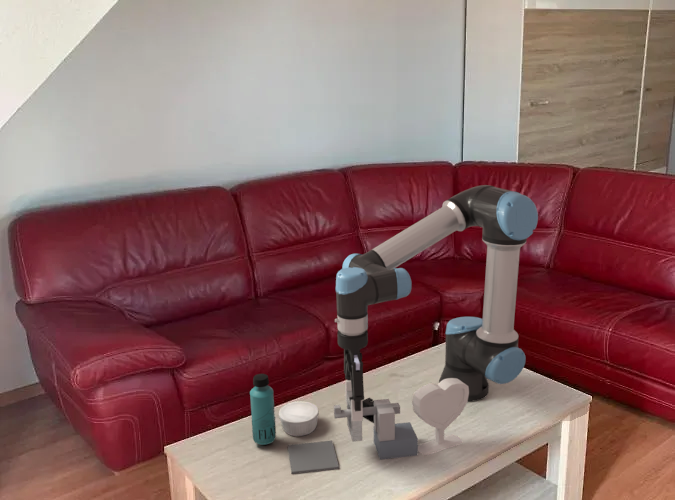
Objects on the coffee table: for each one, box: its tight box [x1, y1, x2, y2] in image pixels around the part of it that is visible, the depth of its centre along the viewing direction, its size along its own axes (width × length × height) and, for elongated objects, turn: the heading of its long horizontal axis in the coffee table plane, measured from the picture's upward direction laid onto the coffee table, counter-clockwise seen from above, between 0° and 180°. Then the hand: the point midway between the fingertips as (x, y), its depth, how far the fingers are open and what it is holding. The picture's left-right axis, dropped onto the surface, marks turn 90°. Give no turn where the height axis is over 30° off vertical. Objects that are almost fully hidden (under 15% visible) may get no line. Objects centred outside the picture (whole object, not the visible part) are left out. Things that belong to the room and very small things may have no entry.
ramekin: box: [278, 400, 320, 437], centre depth 188 cm, size 11×11×5 cm
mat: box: [287, 440, 340, 475], centre depth 174 cm, size 12×12×1 cm
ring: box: [346, 391, 363, 442], centre depth 173 cm, size 2×8×10 cm, turn 9°
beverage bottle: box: [249, 373, 277, 446], centre depth 178 cm, size 6×7×20 cm
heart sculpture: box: [411, 378, 469, 456], centre depth 176 cm, size 16×5×18 cm, turn 117°
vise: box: [333, 398, 419, 460], centre depth 175 cm, size 21×8×14 cm, turn 99°
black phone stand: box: [363, 397, 374, 424], centre depth 194 cm, size 12×7×5 cm, turn 40°
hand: (354, 411), depth 172 cm, fingers closed on ring, 8 cm apart
